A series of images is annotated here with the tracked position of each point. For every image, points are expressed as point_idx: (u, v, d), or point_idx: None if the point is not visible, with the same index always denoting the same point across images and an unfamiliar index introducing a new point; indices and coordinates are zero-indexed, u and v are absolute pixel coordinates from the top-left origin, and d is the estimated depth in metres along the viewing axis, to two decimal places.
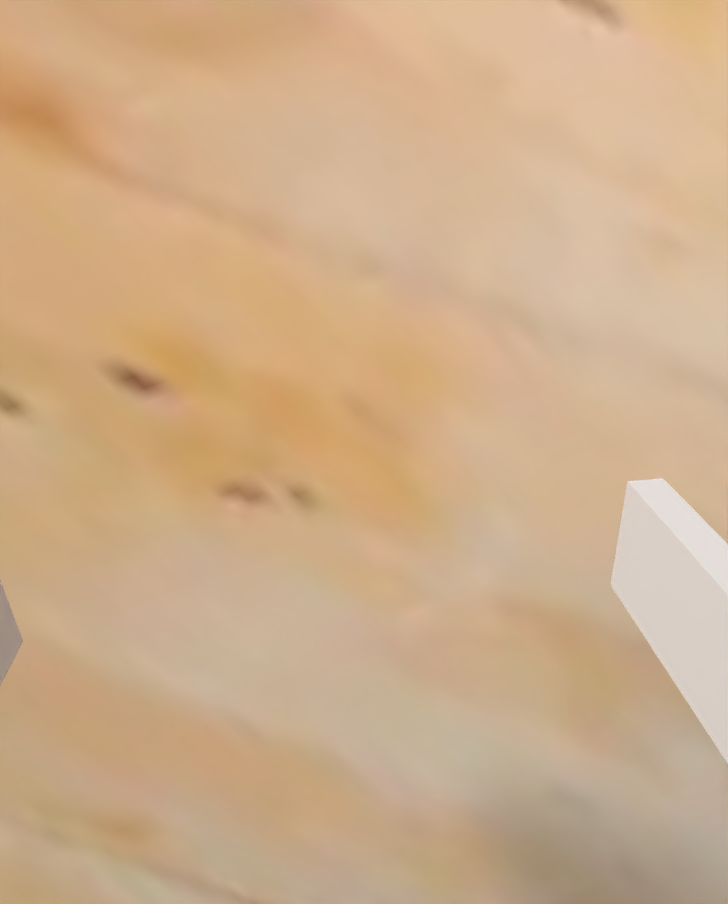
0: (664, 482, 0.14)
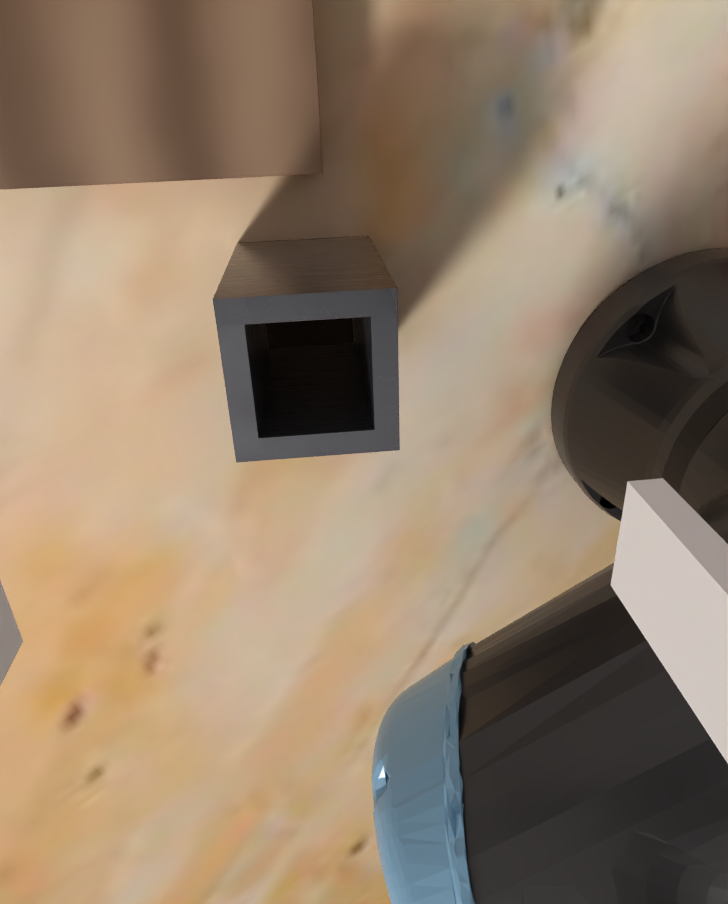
0: (664, 482, 0.14)
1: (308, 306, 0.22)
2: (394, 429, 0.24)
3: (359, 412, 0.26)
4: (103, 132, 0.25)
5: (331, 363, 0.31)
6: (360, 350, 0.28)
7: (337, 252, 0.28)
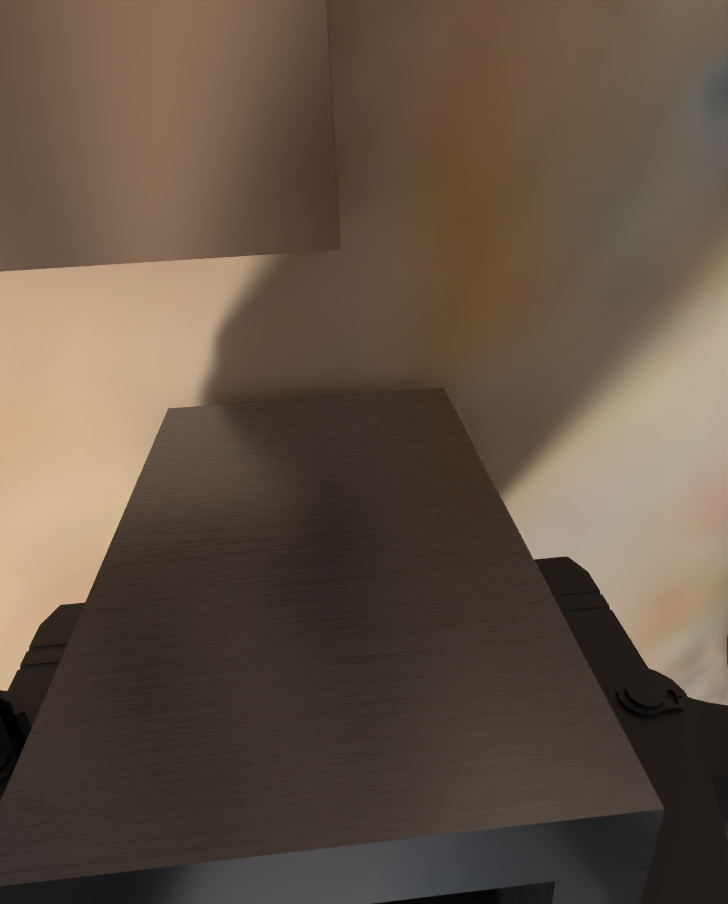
0: None
1: (334, 877, 0.06)
2: None
3: None
4: None
5: None
6: None
7: (390, 469, 0.12)
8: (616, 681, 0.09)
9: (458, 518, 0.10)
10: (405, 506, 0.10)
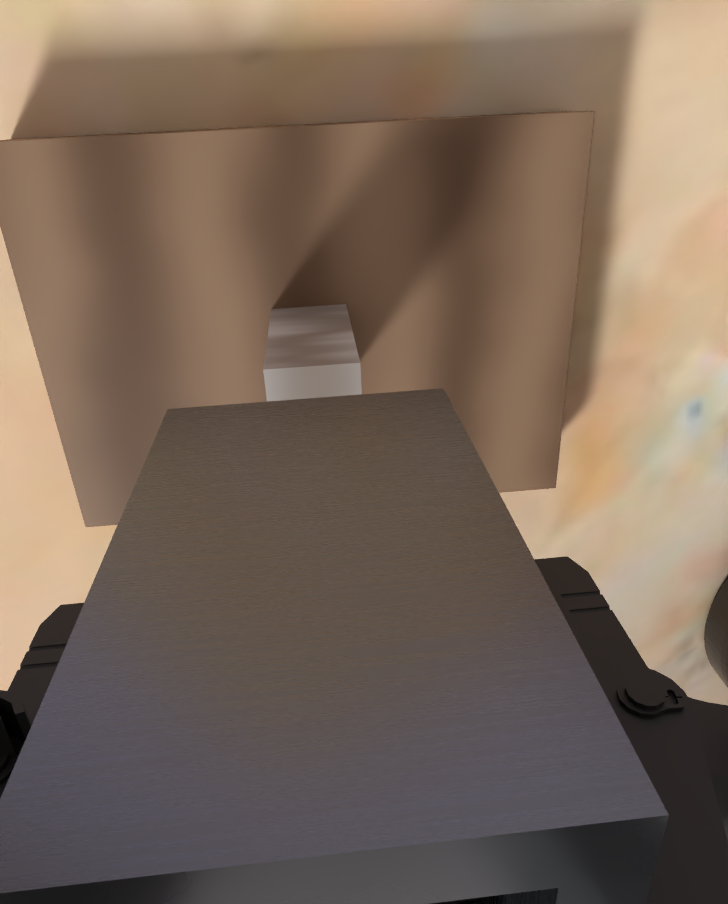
0: None
1: (335, 883, 0.06)
2: None
3: None
4: None
5: None
6: None
7: (390, 470, 0.11)
8: (616, 681, 0.09)
9: (459, 519, 0.10)
10: (406, 507, 0.10)
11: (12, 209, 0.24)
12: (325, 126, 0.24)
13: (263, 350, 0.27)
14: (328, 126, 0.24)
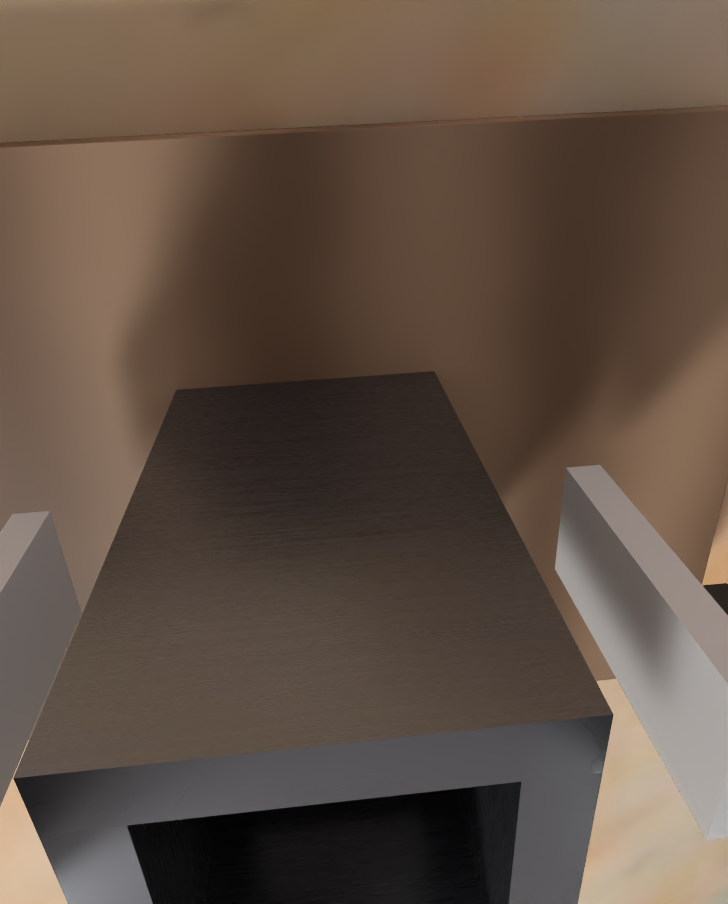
0: (601, 468, 0.14)
1: (330, 772, 0.07)
2: None
3: (446, 862, 0.11)
4: None
5: None
6: None
7: (383, 443, 0.12)
8: None
9: (444, 484, 0.11)
10: (396, 474, 0.11)
11: None
12: (341, 132, 0.13)
13: None
14: (347, 132, 0.13)
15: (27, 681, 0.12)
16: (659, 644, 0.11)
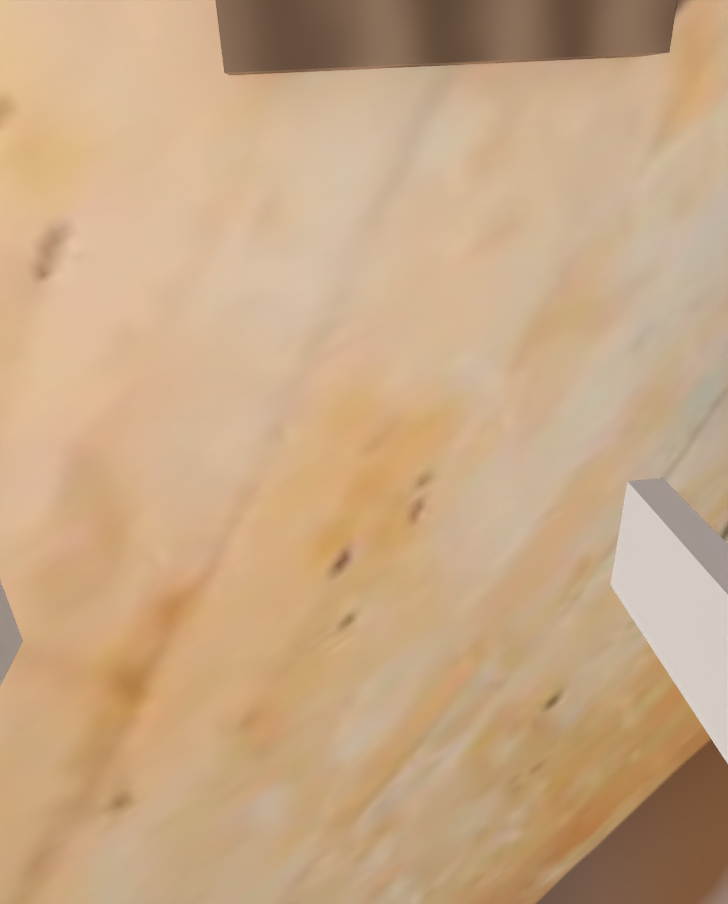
0: (664, 482, 0.14)
1: None
2: None
3: None
4: (510, 16, 0.32)
5: None
6: None
7: None
8: None
9: None
10: None
11: None
12: None
13: None
14: None
15: None
16: None
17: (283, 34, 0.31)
